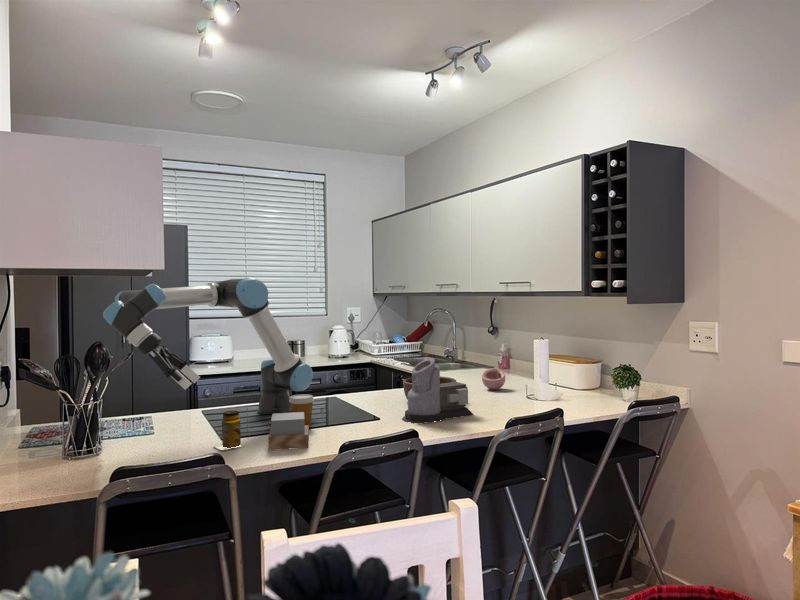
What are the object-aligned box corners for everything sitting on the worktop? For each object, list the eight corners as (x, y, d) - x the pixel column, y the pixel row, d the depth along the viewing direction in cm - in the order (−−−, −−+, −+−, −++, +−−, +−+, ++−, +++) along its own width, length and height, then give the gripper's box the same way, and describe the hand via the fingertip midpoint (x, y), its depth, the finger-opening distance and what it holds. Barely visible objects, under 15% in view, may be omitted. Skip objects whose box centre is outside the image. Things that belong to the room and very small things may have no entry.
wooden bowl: (422, 394, 276) (422, 374, 275) (466, 400, 261) (466, 378, 261) (392, 403, 255) (392, 381, 255) (438, 409, 241) (438, 386, 240)
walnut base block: (268, 451, 183) (268, 436, 183) (271, 441, 196) (271, 427, 196) (308, 449, 185) (307, 434, 185) (308, 439, 198) (308, 425, 198)
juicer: (414, 425, 213) (413, 362, 213) (395, 417, 227) (394, 358, 226) (477, 416, 228) (476, 357, 227) (455, 409, 242) (454, 353, 241)
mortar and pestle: (481, 391, 281) (481, 369, 281) (482, 387, 293) (481, 366, 292) (505, 392, 279) (505, 369, 279) (505, 387, 291) (504, 366, 290)
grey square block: (271, 435, 184) (271, 420, 184) (272, 427, 195) (272, 413, 195) (304, 433, 186) (304, 418, 186) (304, 425, 197) (304, 411, 197)
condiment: (245, 446, 188) (244, 411, 188) (222, 452, 182) (221, 415, 182) (235, 442, 193) (234, 408, 193) (212, 447, 187) (211, 412, 187)
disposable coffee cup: (305, 423, 220) (304, 393, 220) (319, 427, 213) (318, 396, 213) (284, 427, 213) (284, 396, 213) (298, 431, 207) (298, 399, 206)
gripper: (148, 344, 195) (193, 385, 197) (124, 351, 170) (175, 398, 173) (163, 329, 195) (208, 370, 198) (142, 334, 171) (193, 380, 173)
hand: (193, 383), depth 185 cm, fingers open, 13 cm apart
